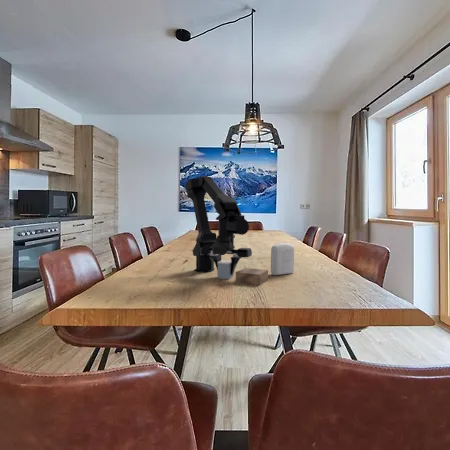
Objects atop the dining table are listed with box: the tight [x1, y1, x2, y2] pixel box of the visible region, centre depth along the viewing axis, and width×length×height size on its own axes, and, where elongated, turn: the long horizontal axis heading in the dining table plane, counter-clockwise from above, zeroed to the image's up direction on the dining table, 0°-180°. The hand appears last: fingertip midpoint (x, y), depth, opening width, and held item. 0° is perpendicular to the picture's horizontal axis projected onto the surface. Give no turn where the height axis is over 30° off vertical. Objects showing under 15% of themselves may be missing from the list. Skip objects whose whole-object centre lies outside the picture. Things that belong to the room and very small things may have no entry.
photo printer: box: [270, 242, 295, 276], centre depth 135 cm, size 10×4×12 cm, turn 123°
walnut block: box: [235, 267, 269, 286], centre depth 121 cm, size 9×9×4 cm
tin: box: [217, 259, 234, 280], centre depth 127 cm, size 5×5×6 cm
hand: (225, 274), depth 127 cm, fingers closed on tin, 5 cm apart
